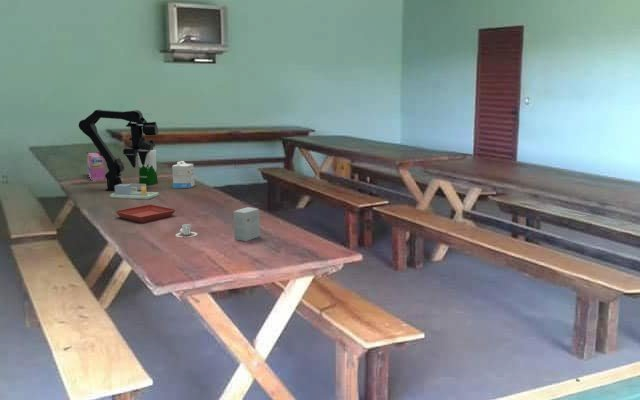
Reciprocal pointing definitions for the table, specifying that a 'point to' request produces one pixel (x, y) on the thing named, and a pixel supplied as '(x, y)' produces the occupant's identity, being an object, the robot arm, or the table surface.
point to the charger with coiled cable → (186, 230)
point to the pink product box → (95, 166)
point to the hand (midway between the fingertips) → (138, 166)
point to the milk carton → (148, 169)
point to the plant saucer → (145, 213)
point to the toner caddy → (129, 190)
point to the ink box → (183, 175)
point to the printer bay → (136, 187)
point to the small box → (246, 224)
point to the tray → (150, 196)
